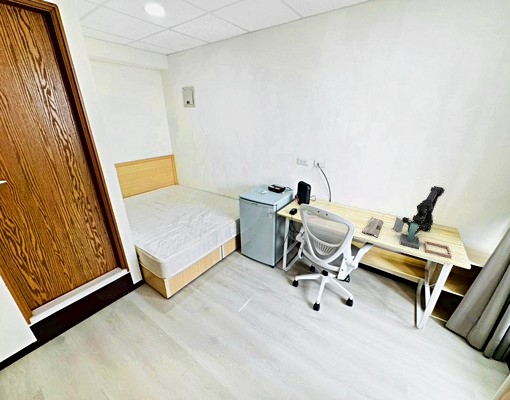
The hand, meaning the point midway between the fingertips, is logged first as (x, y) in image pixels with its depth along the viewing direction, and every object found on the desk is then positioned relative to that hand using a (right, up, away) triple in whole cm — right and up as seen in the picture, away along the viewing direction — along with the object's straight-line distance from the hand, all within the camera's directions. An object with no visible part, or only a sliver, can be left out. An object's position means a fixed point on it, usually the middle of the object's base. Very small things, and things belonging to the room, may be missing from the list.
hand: (411, 232), depth 168 cm
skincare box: (+4, -1, +22) cm, 23 cm away
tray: (+1, -8, +4) cm, 9 cm away
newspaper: (-15, 0, +27) cm, 31 cm away
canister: (+1, -6, +3) cm, 7 cm away
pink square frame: (+14, -12, -6) cm, 20 cm away
